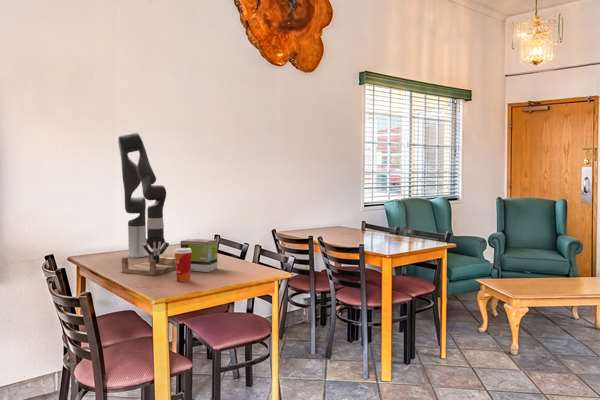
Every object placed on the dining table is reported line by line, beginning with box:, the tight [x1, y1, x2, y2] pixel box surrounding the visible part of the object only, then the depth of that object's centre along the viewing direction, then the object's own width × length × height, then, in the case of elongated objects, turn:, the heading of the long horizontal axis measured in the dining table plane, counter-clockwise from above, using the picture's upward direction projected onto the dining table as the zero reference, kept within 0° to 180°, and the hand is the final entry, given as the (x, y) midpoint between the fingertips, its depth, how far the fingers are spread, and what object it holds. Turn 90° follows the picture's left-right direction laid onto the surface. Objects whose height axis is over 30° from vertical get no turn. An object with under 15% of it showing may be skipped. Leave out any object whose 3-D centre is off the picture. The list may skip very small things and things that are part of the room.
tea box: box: [180, 237, 218, 273], centre depth 234 cm, size 15×10×15 cm
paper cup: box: [173, 247, 192, 283], centre depth 211 cm, size 8×8×14 cm
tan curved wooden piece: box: [151, 255, 176, 265], centre depth 238 cm, size 15×2×4 cm, turn 67°
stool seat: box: [121, 250, 176, 277], centre depth 233 cm, size 20×19×7 cm
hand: (156, 263), depth 230 cm, fingers closed
